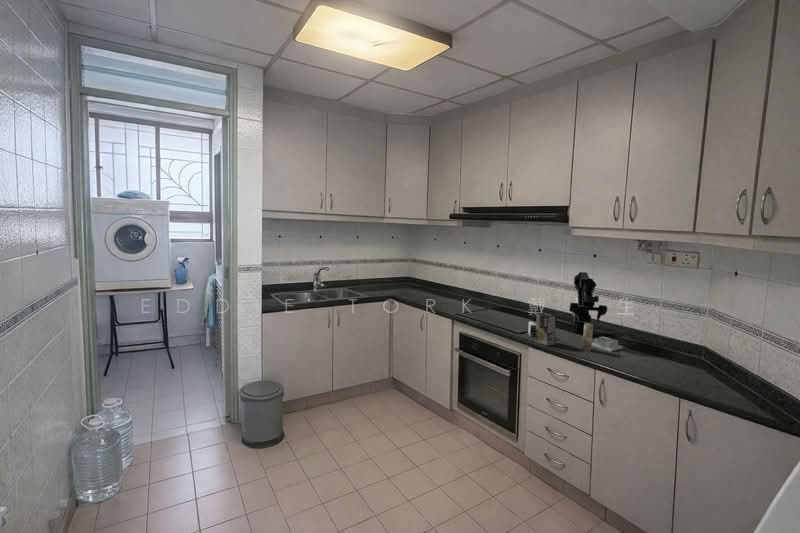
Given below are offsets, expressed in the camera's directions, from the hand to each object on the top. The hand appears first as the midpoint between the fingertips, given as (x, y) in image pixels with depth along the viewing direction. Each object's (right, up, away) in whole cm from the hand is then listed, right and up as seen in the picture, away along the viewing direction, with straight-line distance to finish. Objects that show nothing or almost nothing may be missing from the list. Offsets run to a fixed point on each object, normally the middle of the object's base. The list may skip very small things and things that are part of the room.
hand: (588, 321), depth 218 cm
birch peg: (-4, -14, -6) cm, 16 cm away
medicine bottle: (-23, -11, +18) cm, 31 cm away
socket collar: (+9, -14, 0) cm, 17 cm away
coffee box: (-23, -12, +4) cm, 26 cm away
